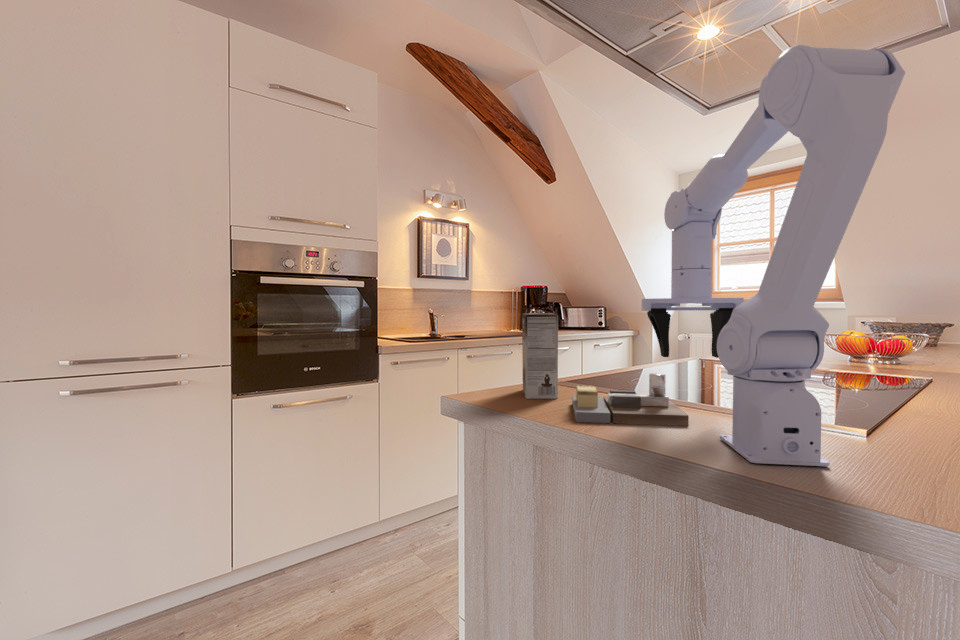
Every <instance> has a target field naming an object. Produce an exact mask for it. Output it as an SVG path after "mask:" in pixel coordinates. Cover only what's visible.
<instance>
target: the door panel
mask: <svg viewBox="0 0 960 640" xmlns="http://www.w3.org/2000/svg"><path fill="white" fill-rule="evenodd" d="M609 393H622V394H637V391H635V390H622V389H621V390H615V389H612V390H611V389H609ZM603 400H604V402H605V404H606V406H607V408H608V410H609V411H610V421H612V424H625V425H626V424H627V425H628V424H629V425H630V424H632V425H656V426H658V425H660V426H682V427H683V426H684V427H685V426H689V416H690V415H689V414H688V413H687V412H685V411H684V410H682V409H681V408H680V407H679V406H677V405H676V404H675V403H674V402H672V400H670V399H669V407H664V406H641V397H640V396H622V395H613V405H609V403H608V396H603Z"/></svg>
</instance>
